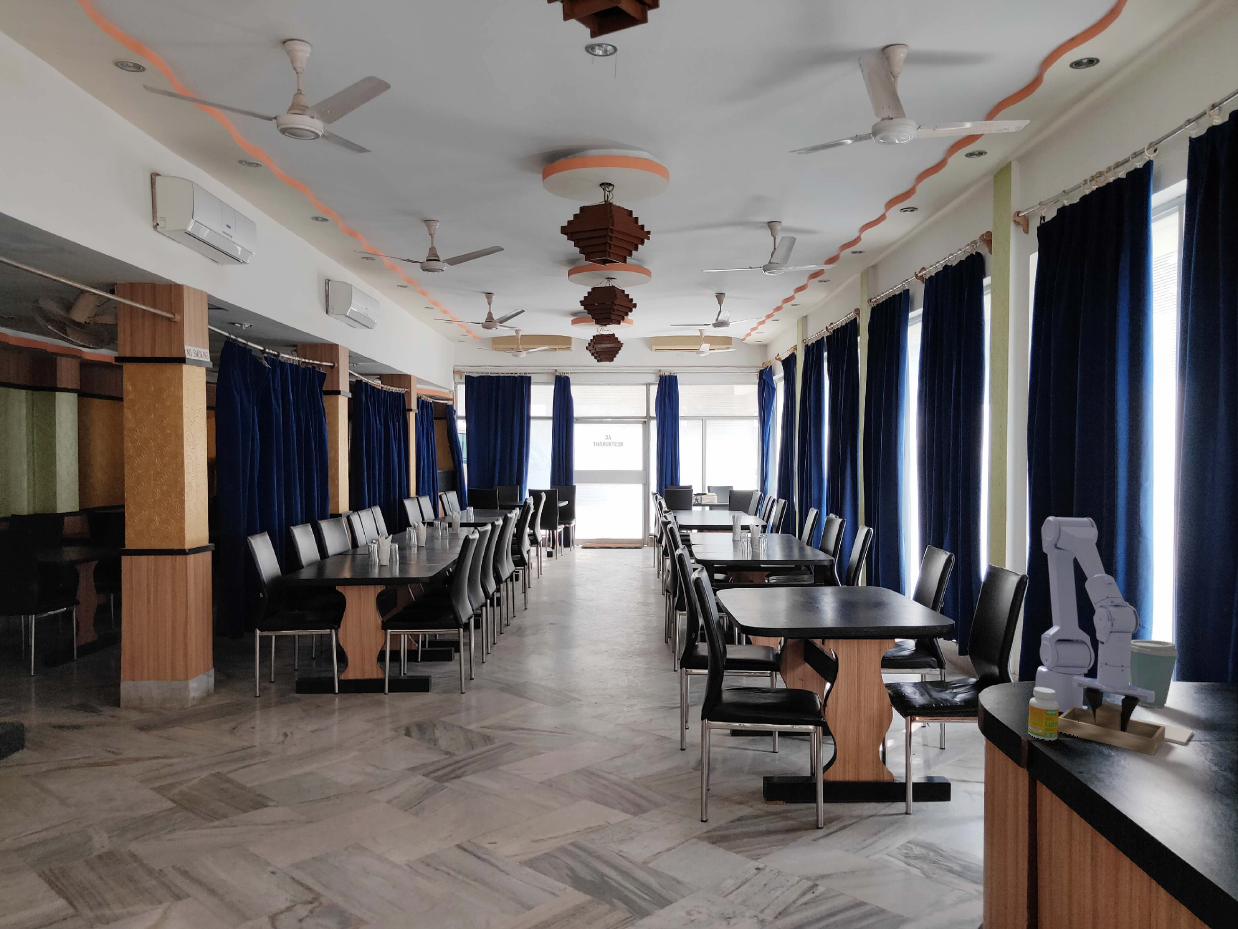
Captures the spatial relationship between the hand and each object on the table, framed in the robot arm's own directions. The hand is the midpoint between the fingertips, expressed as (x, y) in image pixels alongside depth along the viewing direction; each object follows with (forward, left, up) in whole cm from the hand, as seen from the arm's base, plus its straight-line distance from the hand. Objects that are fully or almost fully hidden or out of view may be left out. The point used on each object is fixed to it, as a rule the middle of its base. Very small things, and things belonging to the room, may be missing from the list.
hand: (1110, 728), depth 169 cm
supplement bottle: (-10, -11, -2) cm, 15 cm away
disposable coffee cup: (+1, +33, -2) cm, 33 cm away
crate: (0, 0, -2) cm, 2 cm away
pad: (+7, +11, -2) cm, 13 cm away
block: (0, 0, -2) cm, 2 cm away
